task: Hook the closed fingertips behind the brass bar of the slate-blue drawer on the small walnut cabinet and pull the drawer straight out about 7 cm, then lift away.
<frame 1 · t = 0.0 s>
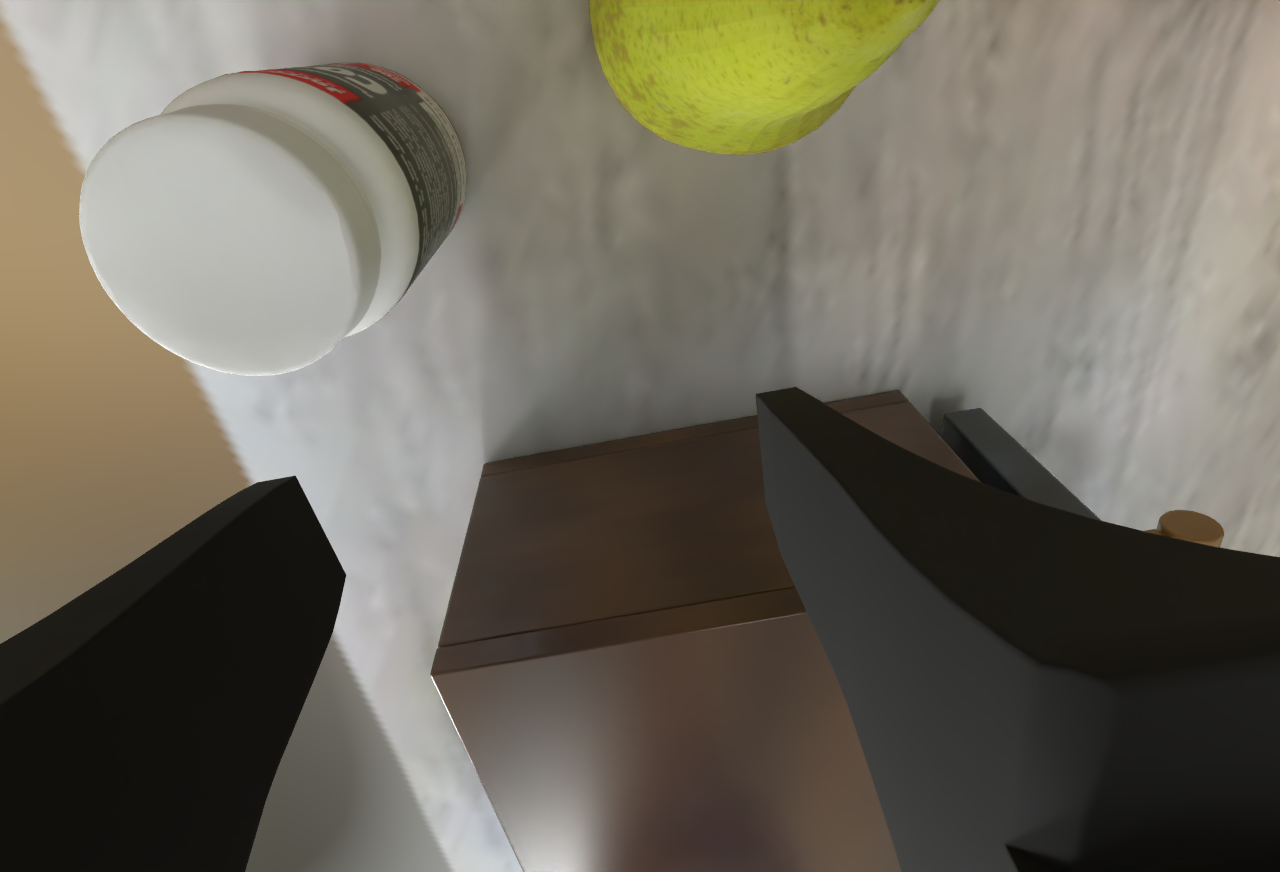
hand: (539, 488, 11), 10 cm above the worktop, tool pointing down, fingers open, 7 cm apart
drawer: (891, 627, 21), point 4 cm above the worktop, slide at 1.0 cm
fruit: (710, 9, 16), on the worktop
pill bottle: (377, 165, 18), on the worktop
cabinet: (709, 562, 25), on the worktop
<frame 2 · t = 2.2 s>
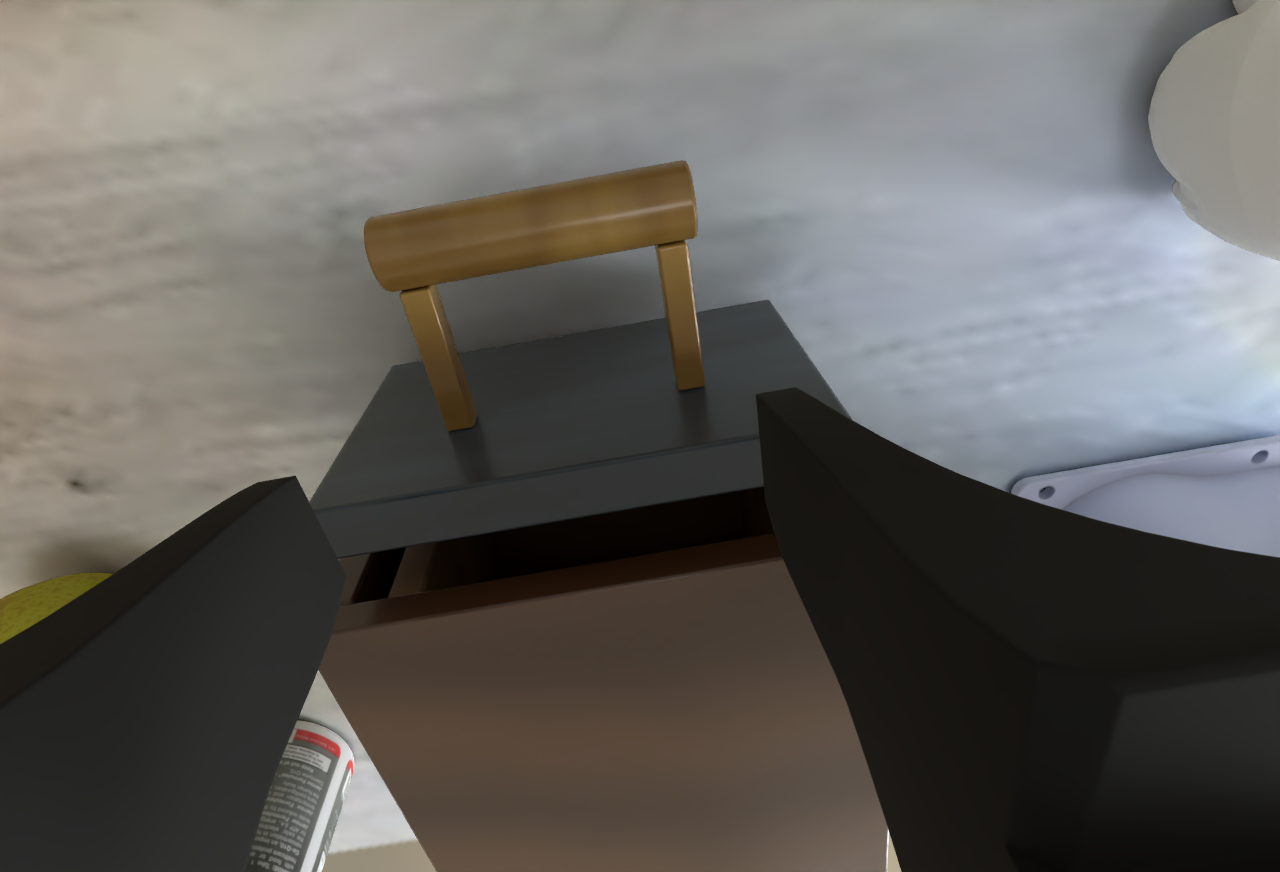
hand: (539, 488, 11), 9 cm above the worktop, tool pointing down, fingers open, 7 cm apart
drawer: (609, 524, 17), point 4 cm above the worktop, slide at 1.0 cm
fruit: (133, 595, 23), on the worktop
pill bottle: (298, 749, 28), on the worktop
cabinet: (632, 561, 24), on the worktop
water bottle: (1248, 84, 17), on the worktop
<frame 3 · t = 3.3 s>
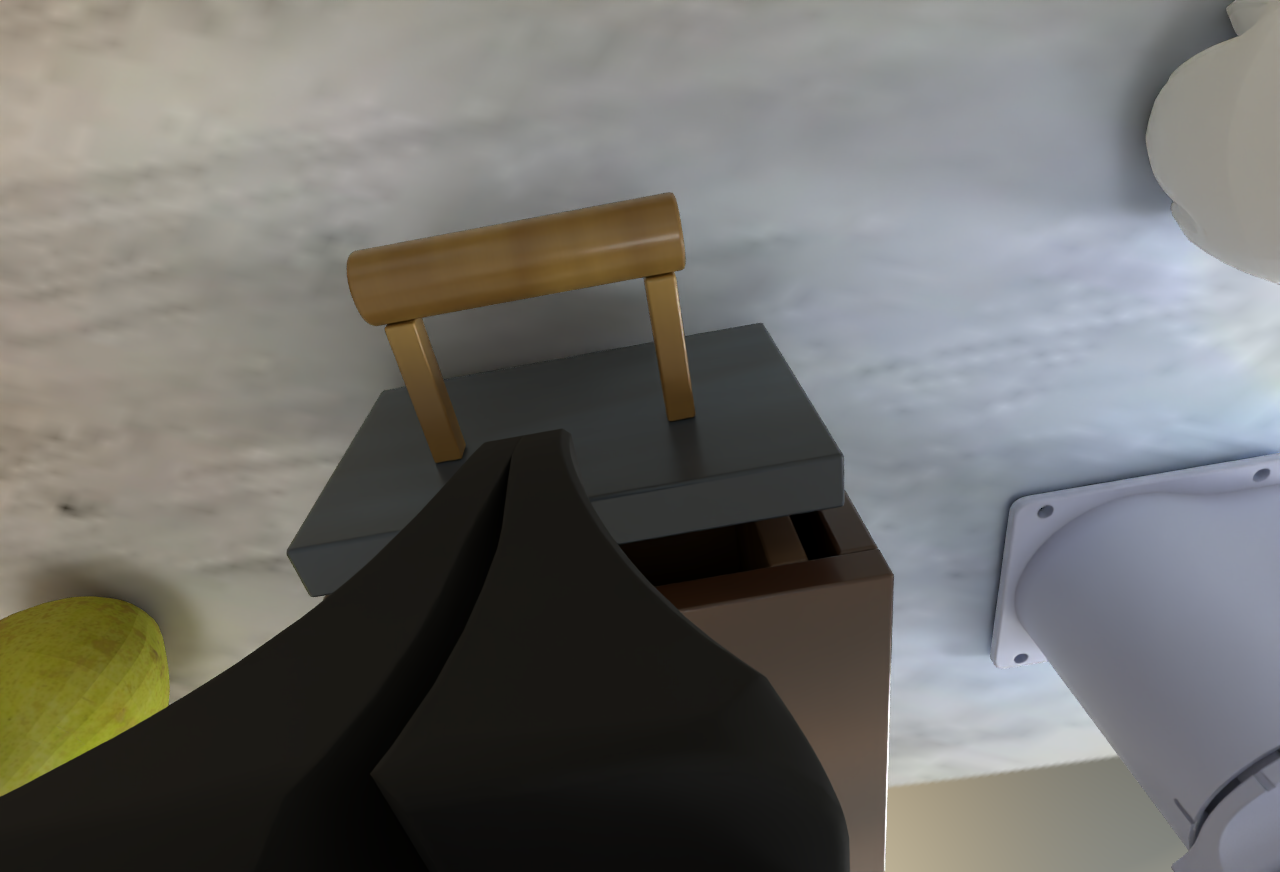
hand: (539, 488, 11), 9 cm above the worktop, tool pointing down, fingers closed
drawer: (601, 551, 17), point 4 cm above the worktop, slide at 1.0 cm
fruit: (125, 618, 23), on the worktop
cabinet: (627, 582, 24), on the worktop
water bottle: (1247, 103, 17), on the worktop
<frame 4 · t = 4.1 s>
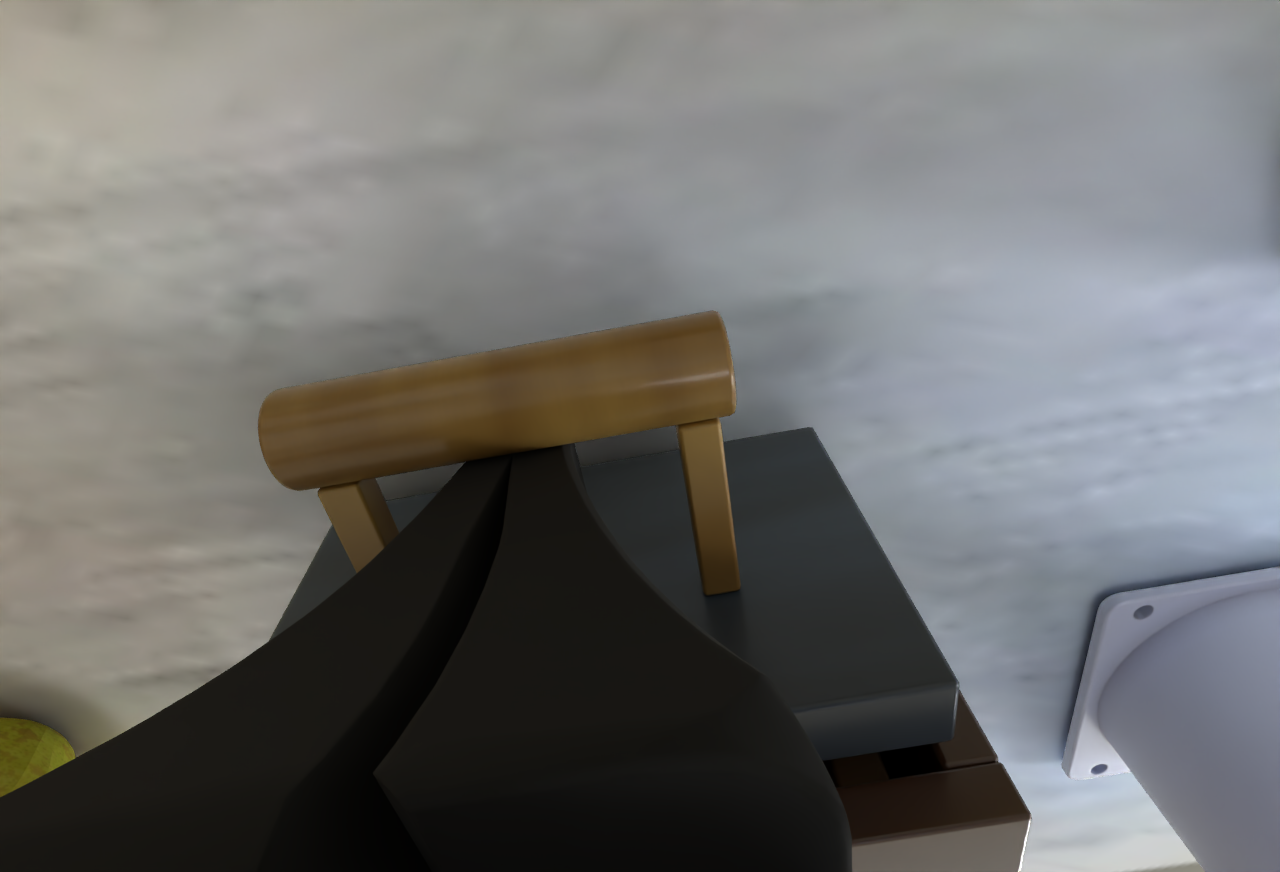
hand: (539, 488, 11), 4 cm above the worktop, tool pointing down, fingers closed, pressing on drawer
drawer: (611, 721, 14), point 4 cm above the worktop, slide at 0.4 cm, touching gripper
fruit: (34, 734, 19), on the worktop
cabinet: (636, 689, 20), on the worktop
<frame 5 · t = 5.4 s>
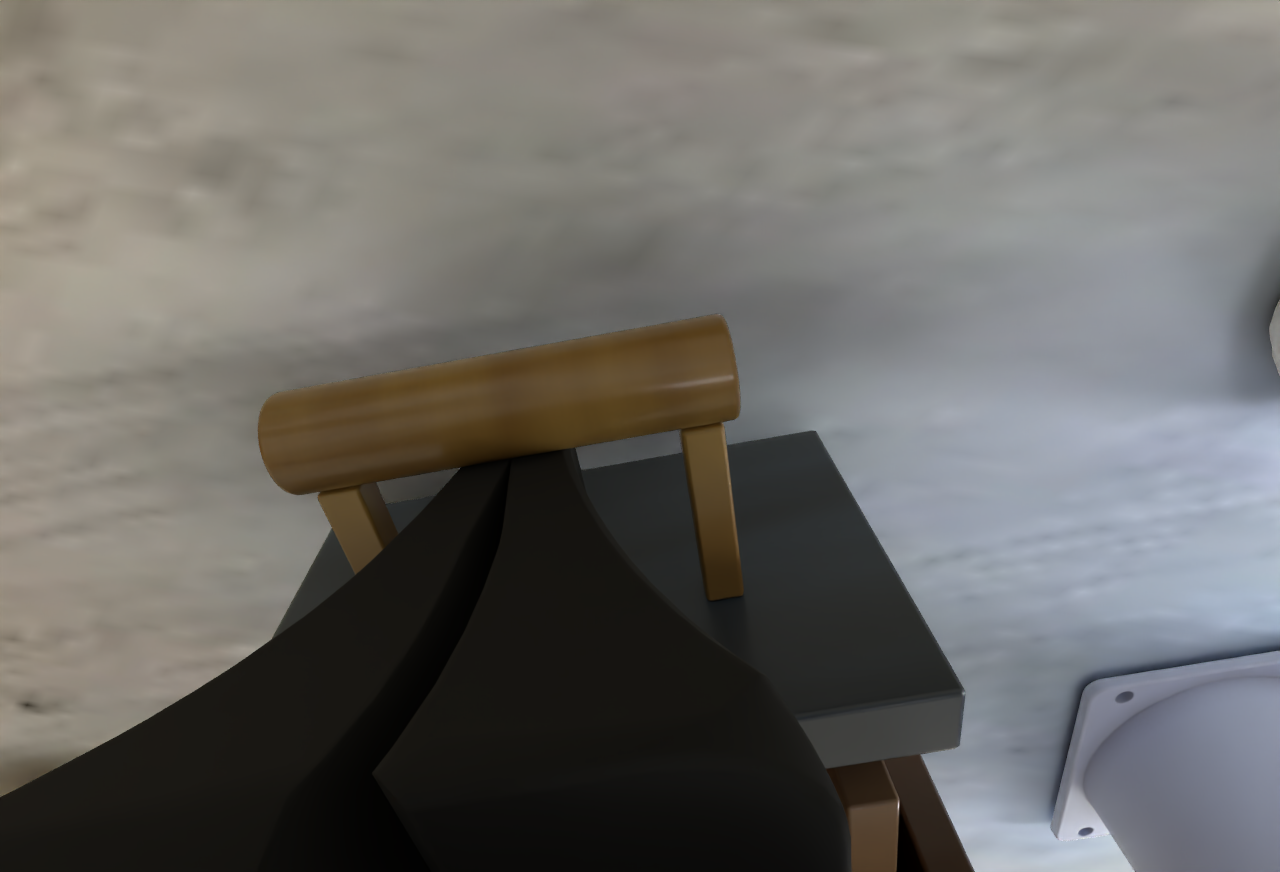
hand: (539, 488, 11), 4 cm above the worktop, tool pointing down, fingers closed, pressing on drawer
drawer: (613, 726, 14), point 4 cm above the worktop, slide at 3.6 cm, touching gripper
cabinet: (654, 763, 21), on the worktop
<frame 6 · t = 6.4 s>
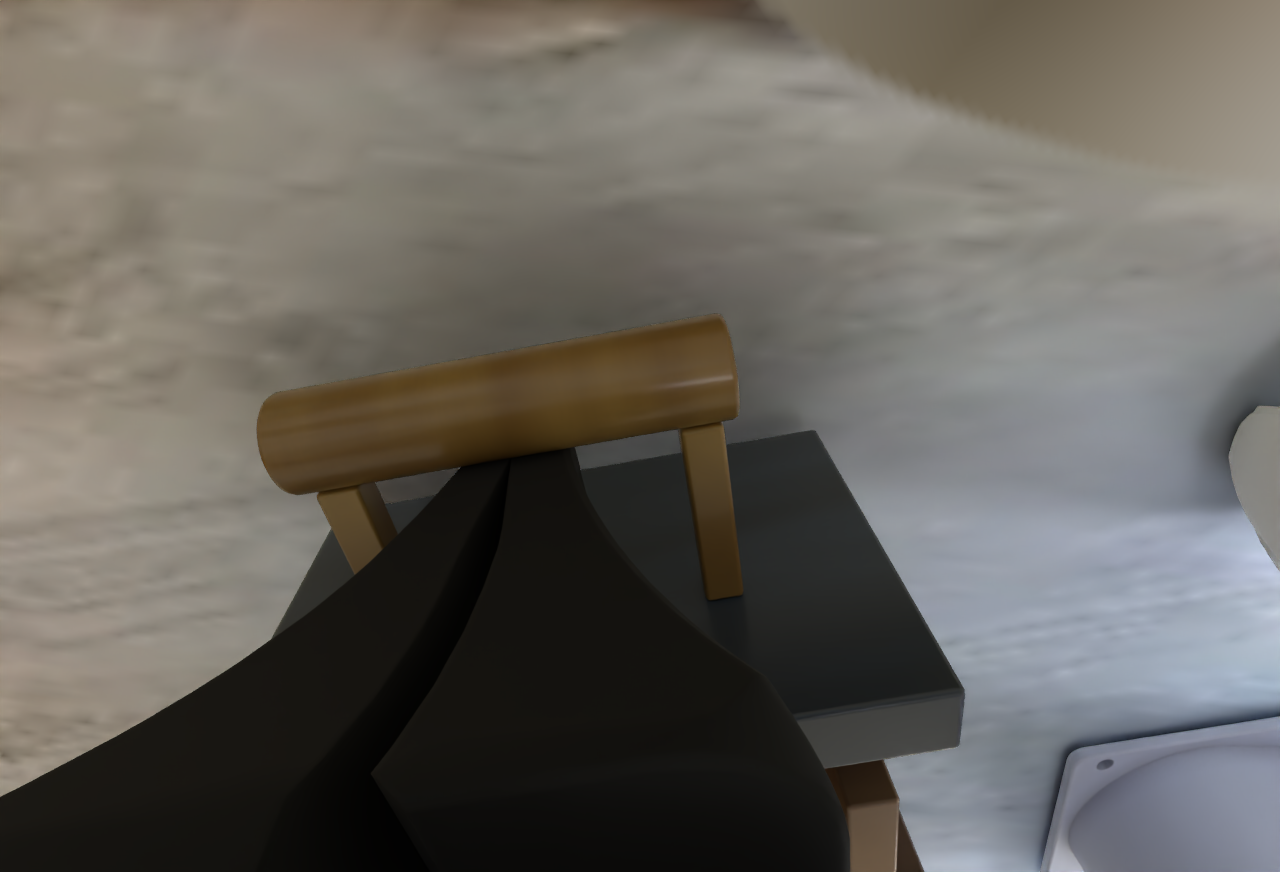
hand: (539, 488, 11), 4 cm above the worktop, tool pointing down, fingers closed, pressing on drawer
drawer: (612, 726, 14), point 4 cm above the worktop, slide at 6.9 cm, touching gripper
cabinet: (669, 822, 23), on the worktop
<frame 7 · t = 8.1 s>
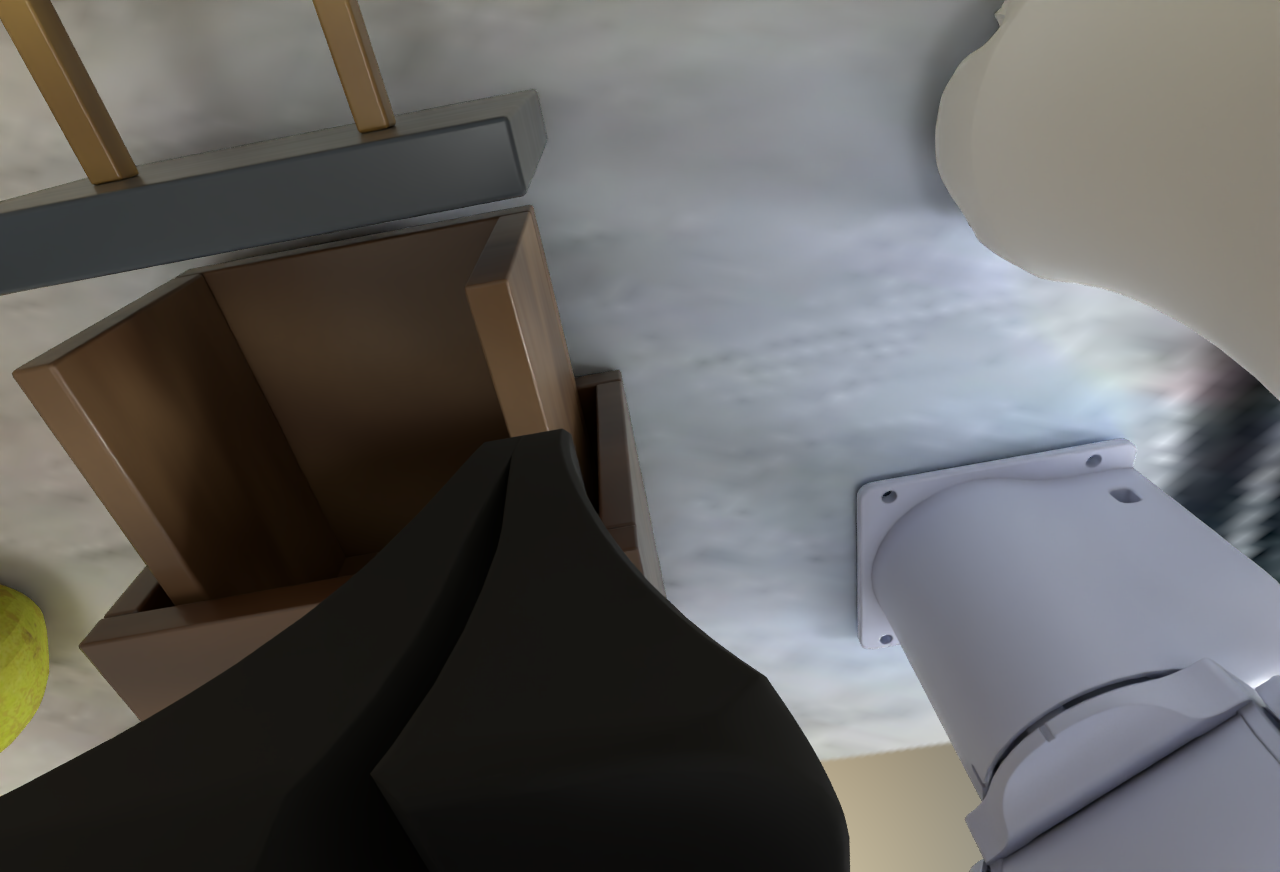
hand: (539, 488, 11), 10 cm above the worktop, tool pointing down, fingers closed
drawer: (344, 336, 15), point 4 cm above the worktop, slide at 6.7 cm
fruit: (11, 603, 24), on the worktop
cabinet: (496, 566, 25), on the worktop
water bottle: (1035, 107, 18), on the worktop
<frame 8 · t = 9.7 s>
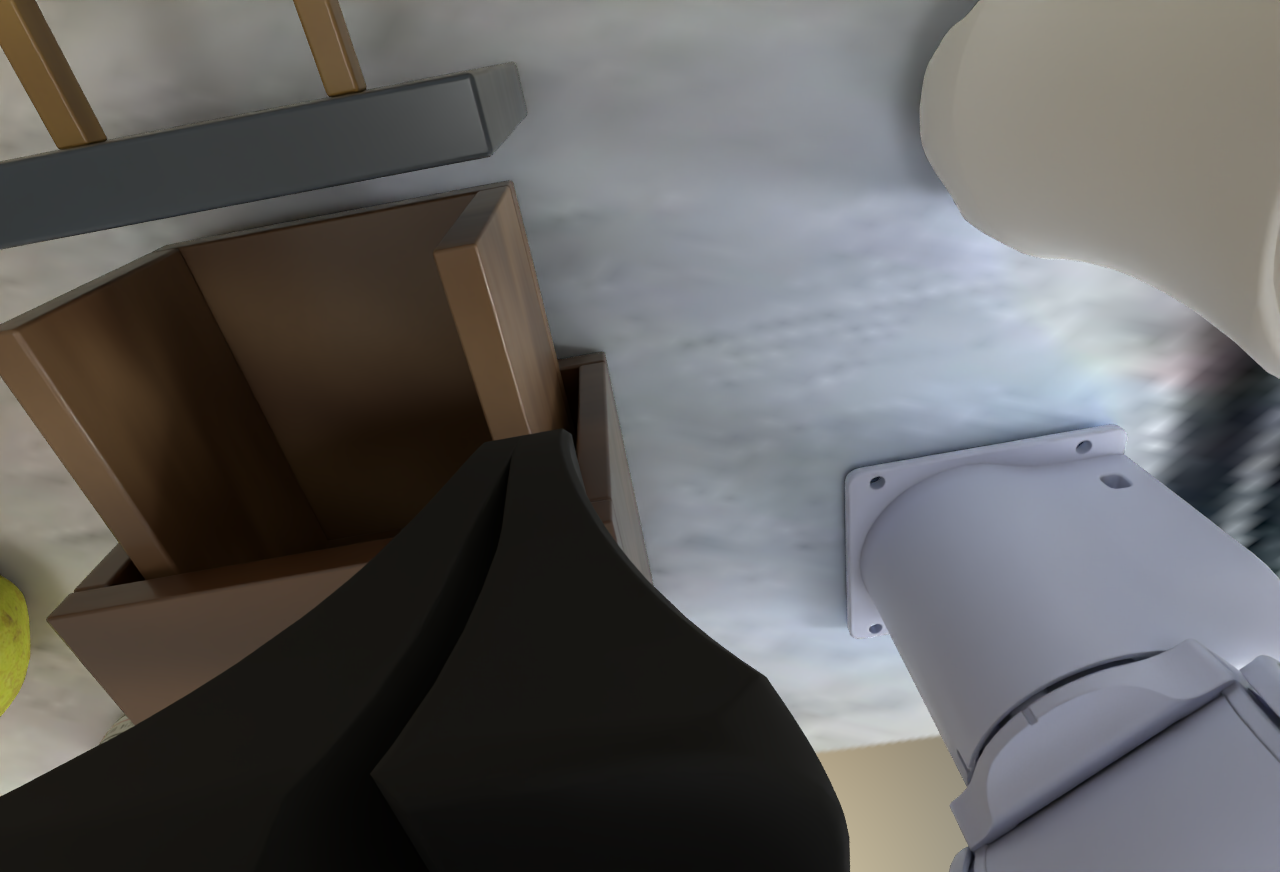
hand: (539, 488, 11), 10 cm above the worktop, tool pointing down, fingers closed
drawer: (319, 310, 15), point 4 cm above the worktop, slide at 6.7 cm
pill bottle: (177, 738, 28), on the worktop
cabinet: (481, 552, 24), on the worktop
water bottle: (1021, 84, 18), on the worktop
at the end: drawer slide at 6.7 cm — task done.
